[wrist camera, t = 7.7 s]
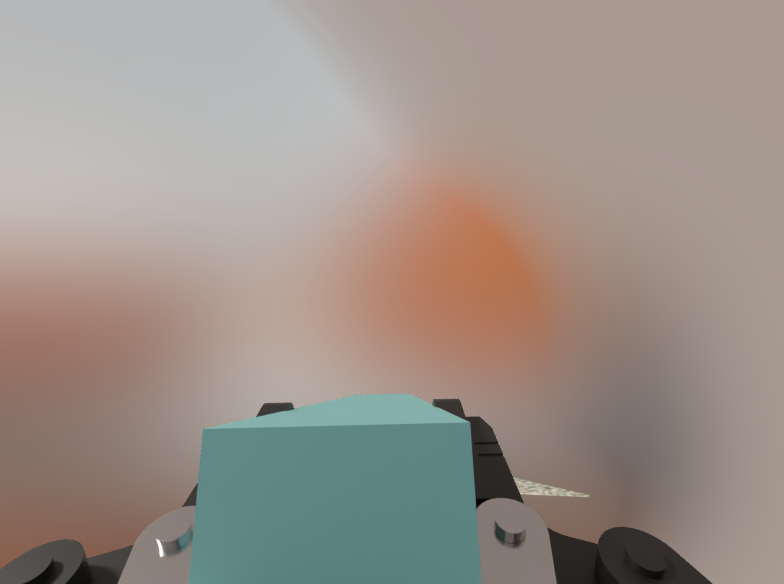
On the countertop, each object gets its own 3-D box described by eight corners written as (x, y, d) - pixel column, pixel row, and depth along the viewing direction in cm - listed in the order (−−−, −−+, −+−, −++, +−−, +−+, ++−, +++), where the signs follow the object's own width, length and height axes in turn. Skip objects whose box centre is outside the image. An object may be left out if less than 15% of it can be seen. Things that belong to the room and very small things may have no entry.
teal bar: (410, 449, 28) (408, 393, 29) (493, 763, 5) (470, 422, 6) (356, 450, 28) (356, 394, 29) (170, 771, 5) (203, 428, 6)
